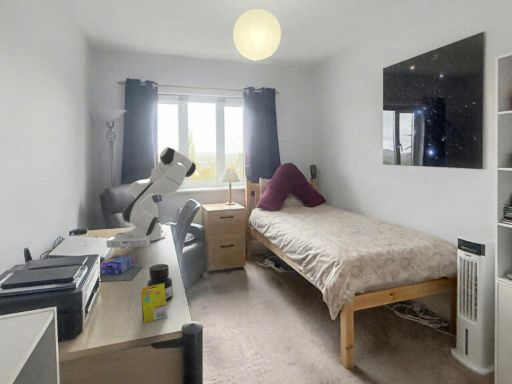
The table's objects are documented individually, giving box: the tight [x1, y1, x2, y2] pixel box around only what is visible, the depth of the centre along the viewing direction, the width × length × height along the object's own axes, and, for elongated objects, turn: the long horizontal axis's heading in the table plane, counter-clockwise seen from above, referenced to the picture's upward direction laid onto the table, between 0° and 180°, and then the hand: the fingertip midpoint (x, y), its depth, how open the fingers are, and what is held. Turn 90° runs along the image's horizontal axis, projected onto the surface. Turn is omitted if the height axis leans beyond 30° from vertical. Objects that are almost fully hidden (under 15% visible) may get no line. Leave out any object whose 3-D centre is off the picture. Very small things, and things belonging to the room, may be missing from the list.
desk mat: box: [100, 265, 144, 283], centre depth 143 cm, size 17×14×1 cm
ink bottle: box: [146, 263, 174, 302], centre depth 116 cm, size 10×9×12 cm
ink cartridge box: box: [99, 254, 135, 275], centre depth 146 cm, size 10×6×14 cm
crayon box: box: [140, 283, 168, 324], centre depth 102 cm, size 7×3×12 cm, turn 119°
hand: (122, 246), depth 149 cm, fingers closed
